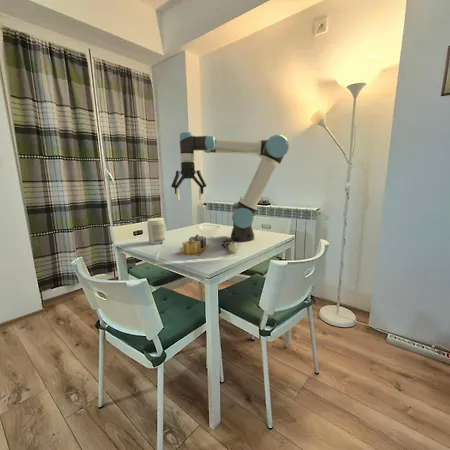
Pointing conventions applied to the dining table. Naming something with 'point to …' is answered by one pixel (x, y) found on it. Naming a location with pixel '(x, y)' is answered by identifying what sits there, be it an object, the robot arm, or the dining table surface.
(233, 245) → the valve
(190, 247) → the brass gear
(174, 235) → the dining table surface
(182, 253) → the gear board
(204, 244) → the gear
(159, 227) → the supplement tub
